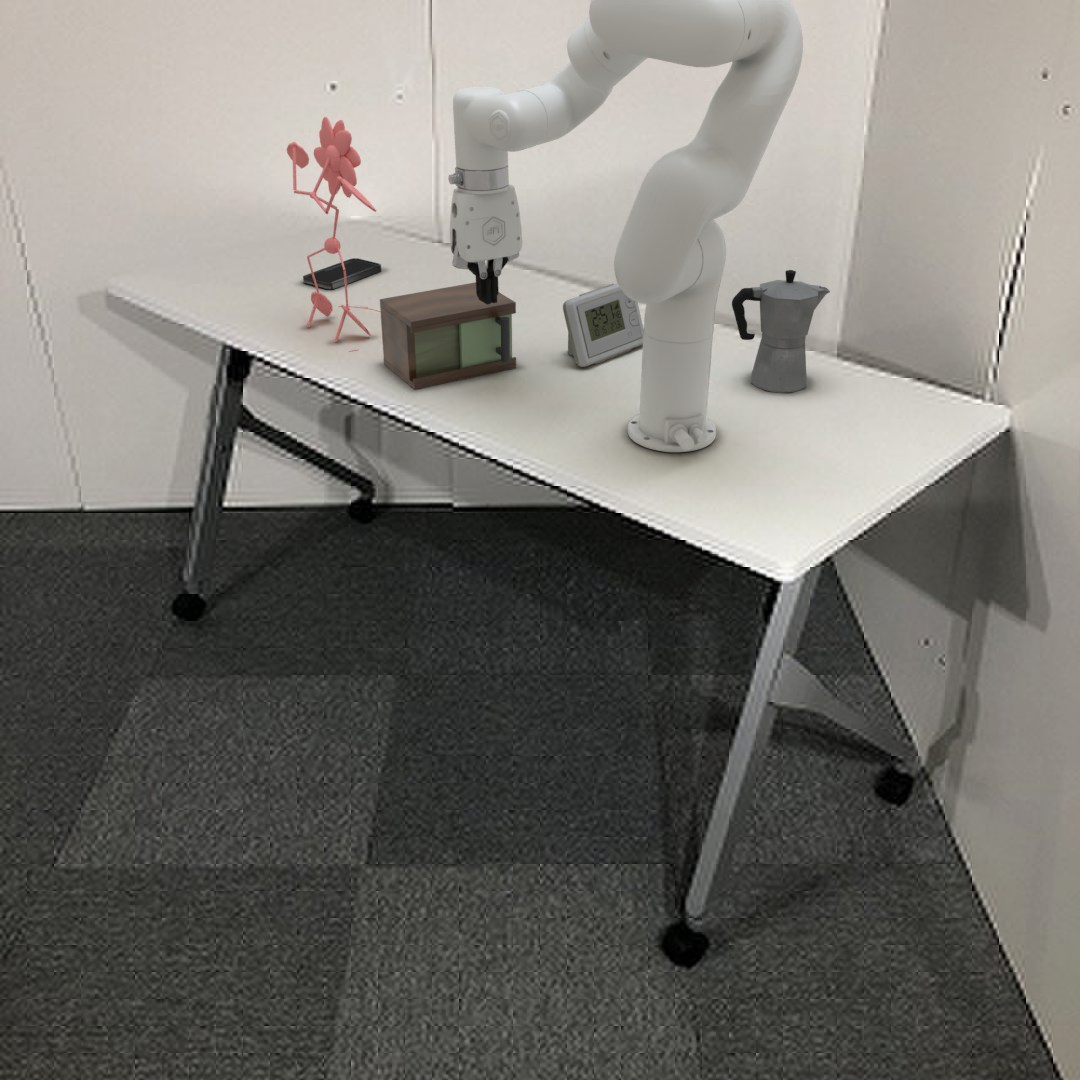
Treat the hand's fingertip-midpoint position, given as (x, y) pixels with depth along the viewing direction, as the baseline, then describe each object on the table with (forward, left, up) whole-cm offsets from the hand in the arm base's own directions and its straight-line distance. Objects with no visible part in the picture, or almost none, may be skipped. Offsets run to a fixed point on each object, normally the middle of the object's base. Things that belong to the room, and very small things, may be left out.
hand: (487, 301), depth 182 cm
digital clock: (+6, -21, -13) cm, 26 cm away
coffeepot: (-12, -43, -13) cm, 46 cm away
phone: (+57, +16, -13) cm, 61 cm away
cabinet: (+8, +5, -13) cm, 16 cm away
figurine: (+29, +17, -13) cm, 36 cm away
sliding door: (+2, -1, -12) cm, 12 cm away
